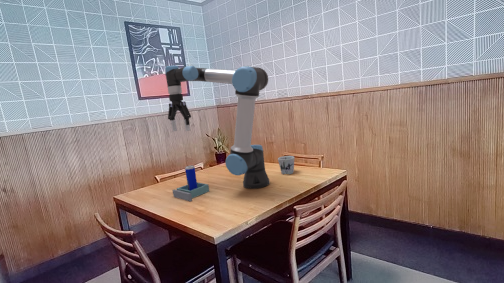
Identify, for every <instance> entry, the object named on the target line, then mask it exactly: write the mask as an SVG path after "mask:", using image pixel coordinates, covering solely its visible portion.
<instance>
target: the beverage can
mask: <svg viewBox="0 0 504 283" xmlns="http://www.w3.org/2000/svg"><path fill="white" fill-rule="evenodd" d="M184 170H185V177H186V185H188V190H189V191H191V190H194V189H196V188H198V187H197V182H198V180H197V174H196V167H195V165H187V166H185V168H184Z"/></svg>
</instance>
